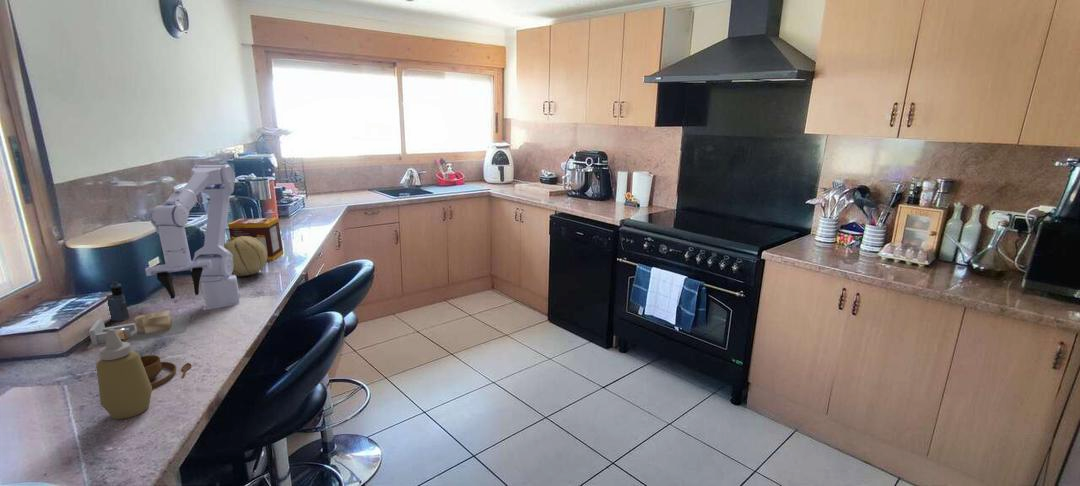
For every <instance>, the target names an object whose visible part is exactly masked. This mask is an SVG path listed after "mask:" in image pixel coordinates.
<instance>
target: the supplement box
mask: <svg viewBox="0 0 1080 486" xmlns="http://www.w3.org/2000/svg"><path fill="white" fill-rule="evenodd" d="M227 227H228V232H229V239H230V238H231V237H234V238H236V237H240V236H250V237H253V238H256V239H257V240H259V241H260V242H261V243H262V244H263V245H264V246H265V248H266V251H267V261H275V260H276V259H277V258H278V257H280V256H281V255H283V254H284V247H283V241H282V235H281V229H280V222H279V218H278V217H262V218H261V217H260V218H259V217H257V218H255V217H253V218H252V217H251V218H238V219H236V220H234V221H232V222H229V223H227Z"/></svg>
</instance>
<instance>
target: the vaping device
mask: <svg viewBox="0 0 1080 486" xmlns="http://www.w3.org/2000/svg"><path fill="white" fill-rule="evenodd" d="M109 287H110V291H111V292H110V293H106V295H105V296H106V297H105V300H106V299H107V300H108V306H109V311H110V315H111V319H110V320H111V321H118V322H123V321H125V320H128V319H130V315H129V312H128V311H129V310H128V306H127V302H126V297H125V296H124V295H125V294H124V291H123V287H122V284H121V283H119V282H118V281H112V284H111V285H110V286H109Z"/></svg>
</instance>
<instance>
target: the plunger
mask: <svg viewBox="0 0 1080 486" xmlns="http://www.w3.org/2000/svg"><path fill="white" fill-rule="evenodd" d="M115 331H116V333H117V334H118V336H119V338H120V339H125V340H126V333H125V328H118V329H116V330H115Z"/></svg>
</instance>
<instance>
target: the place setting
mask: <svg viewBox="0 0 1080 486" xmlns="http://www.w3.org/2000/svg"><path fill="white" fill-rule="evenodd" d="M121 341H122V342H125V339H121ZM140 358H141V361H142V363H143V366H144V368H145V371H146V373H147V376H148V379H149V381H150V384H151V386H152V389H154V388H157V387H158V386H161V385H163V384H165V383H166V382H168V381H170V380H171V379H172V378H173V377H174V376H175V375H176V372H177V365H176V364H175V363H173V362H169V361H161V357H160V356H158V355H154V354H153V355H152V354H151V355H143V356H140ZM191 368H192V364H191V362H187V363H185V364H184V365H183V366H182V367H181V370H182V371H183V372H182V375H181V377H180V379H185V377H186V373H187V371H189V370H190V369H191ZM162 369H167V370H169V371H171V372H170V373H169V374H168V375H166V376H164V377H162V378H161V379H158V380H157V381H154V382H152V381H153V380H155V378H156V377H157V376H158V375H159V374H160V373H161V372H162ZM151 382H152V383H151Z"/></svg>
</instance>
